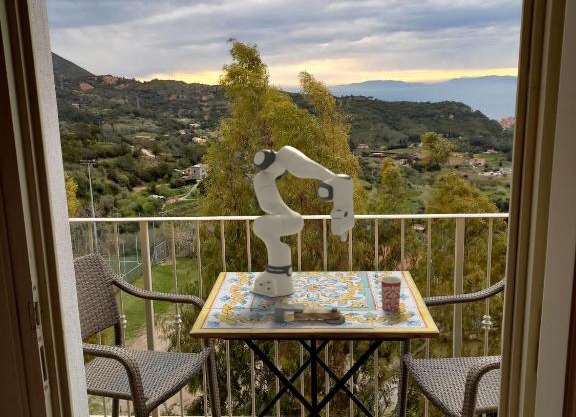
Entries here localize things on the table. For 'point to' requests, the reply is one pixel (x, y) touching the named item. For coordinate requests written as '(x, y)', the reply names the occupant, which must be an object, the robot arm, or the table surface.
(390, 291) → the mug
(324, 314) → the walnut link
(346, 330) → the table surface
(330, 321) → the pivot base
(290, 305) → the keeper
